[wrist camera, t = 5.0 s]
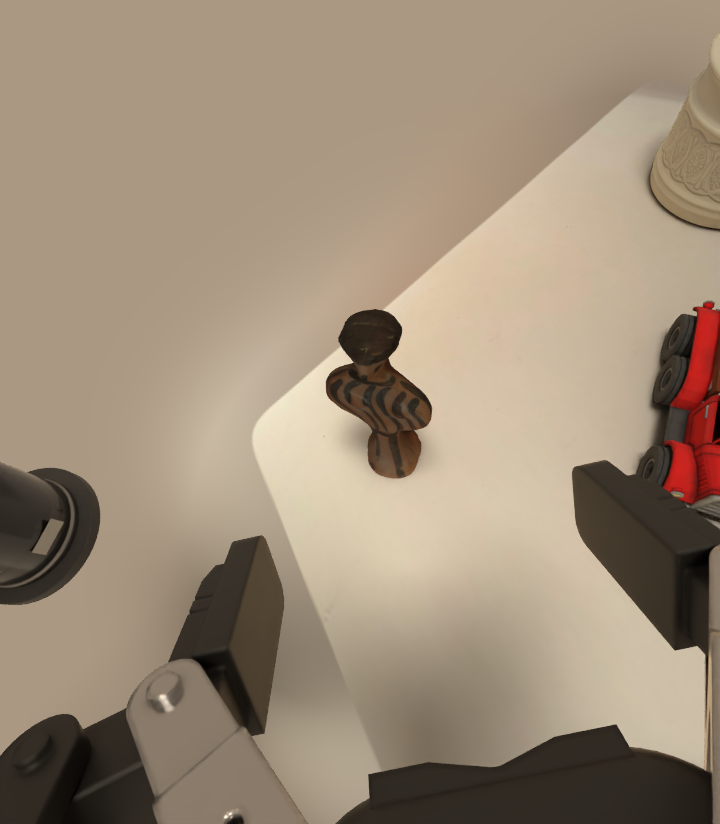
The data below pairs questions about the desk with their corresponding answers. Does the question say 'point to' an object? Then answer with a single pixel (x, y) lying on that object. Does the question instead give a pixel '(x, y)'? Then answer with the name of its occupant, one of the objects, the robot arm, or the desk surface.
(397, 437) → the figurine
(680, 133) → the jar
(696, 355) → the toy truck
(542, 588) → the desk surface
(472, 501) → the desk surface
